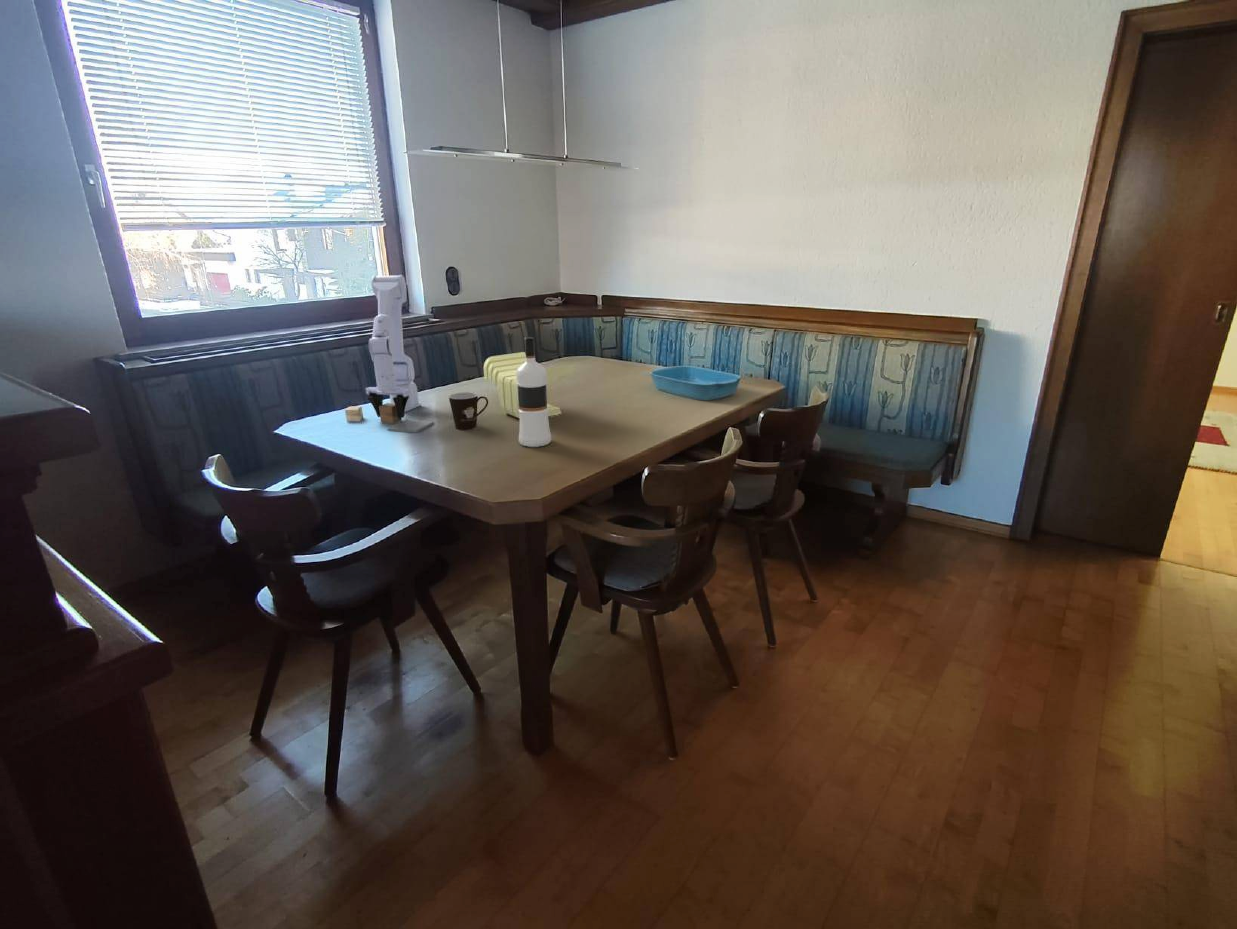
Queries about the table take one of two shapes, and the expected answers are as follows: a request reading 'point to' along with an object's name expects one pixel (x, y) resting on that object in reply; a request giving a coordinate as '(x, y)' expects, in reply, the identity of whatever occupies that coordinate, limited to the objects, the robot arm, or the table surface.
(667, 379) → the casserole dish
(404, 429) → the slate coaster
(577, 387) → the table surface
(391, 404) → the walnut block
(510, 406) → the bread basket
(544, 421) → the vodka
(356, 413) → the maple block
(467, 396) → the coffee mug
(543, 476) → the table surface
